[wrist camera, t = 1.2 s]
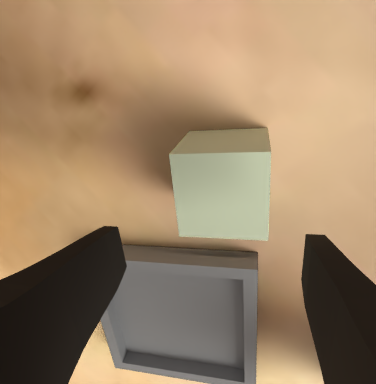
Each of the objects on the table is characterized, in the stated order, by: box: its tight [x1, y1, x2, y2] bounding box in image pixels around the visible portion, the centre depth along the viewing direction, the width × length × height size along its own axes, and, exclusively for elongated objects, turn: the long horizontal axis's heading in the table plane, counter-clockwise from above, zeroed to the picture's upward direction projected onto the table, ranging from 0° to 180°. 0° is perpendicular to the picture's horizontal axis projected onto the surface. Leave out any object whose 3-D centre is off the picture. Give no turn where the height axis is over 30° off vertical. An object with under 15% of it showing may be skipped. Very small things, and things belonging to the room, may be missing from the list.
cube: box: [169, 128, 271, 241], centre depth 17 cm, size 5×5×5 cm
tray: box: [100, 245, 258, 384], centre depth 25 cm, size 14×14×2 cm
